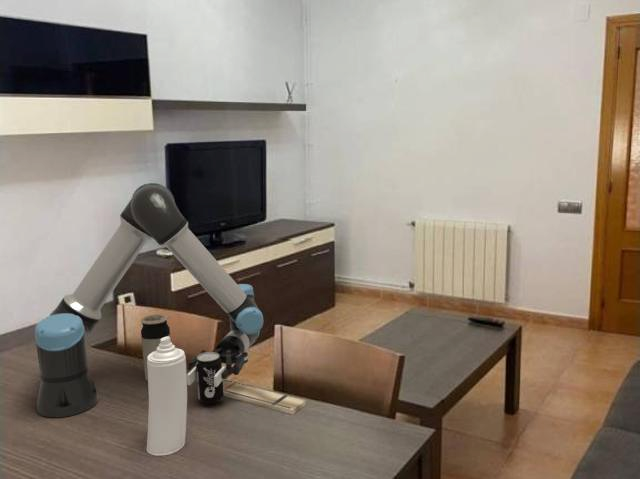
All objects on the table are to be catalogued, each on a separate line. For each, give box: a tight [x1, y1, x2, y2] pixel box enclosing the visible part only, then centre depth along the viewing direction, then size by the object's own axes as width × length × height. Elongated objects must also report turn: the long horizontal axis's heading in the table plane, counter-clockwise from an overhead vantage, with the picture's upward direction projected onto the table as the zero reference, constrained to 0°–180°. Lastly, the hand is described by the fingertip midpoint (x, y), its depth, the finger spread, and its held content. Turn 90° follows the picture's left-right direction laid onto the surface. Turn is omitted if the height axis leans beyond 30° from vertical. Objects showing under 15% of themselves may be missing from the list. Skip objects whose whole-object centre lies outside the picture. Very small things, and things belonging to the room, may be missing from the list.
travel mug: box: [140, 314, 172, 382], centre depth 178 cm, size 8×8×18 cm
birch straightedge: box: [223, 379, 307, 415], centre depth 165 cm, size 6×30×1 cm, turn 58°
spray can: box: [146, 336, 188, 457], centre depth 141 cm, size 12×11×25 cm
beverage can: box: [196, 351, 225, 405], centre depth 161 cm, size 7×7×12 cm
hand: (201, 380), depth 156 cm, fingers closed on beverage can, 6 cm apart
